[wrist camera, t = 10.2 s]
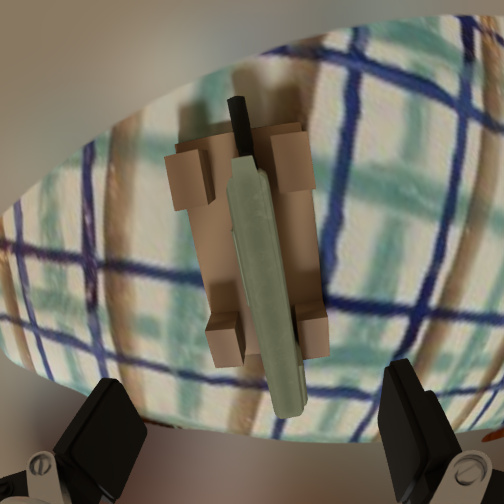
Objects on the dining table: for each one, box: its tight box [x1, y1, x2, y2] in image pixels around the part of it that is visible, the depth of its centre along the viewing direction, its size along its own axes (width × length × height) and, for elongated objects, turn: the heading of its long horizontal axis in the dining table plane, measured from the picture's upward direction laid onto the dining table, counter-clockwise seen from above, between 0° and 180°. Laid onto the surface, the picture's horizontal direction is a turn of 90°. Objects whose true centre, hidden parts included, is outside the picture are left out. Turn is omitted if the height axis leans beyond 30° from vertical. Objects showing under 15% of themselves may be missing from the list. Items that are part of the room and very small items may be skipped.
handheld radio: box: [226, 96, 308, 419], centre depth 22 cm, size 7×3×25 cm
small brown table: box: [164, 122, 330, 368], centre depth 24 cm, size 10×20×4 cm, turn 10°
